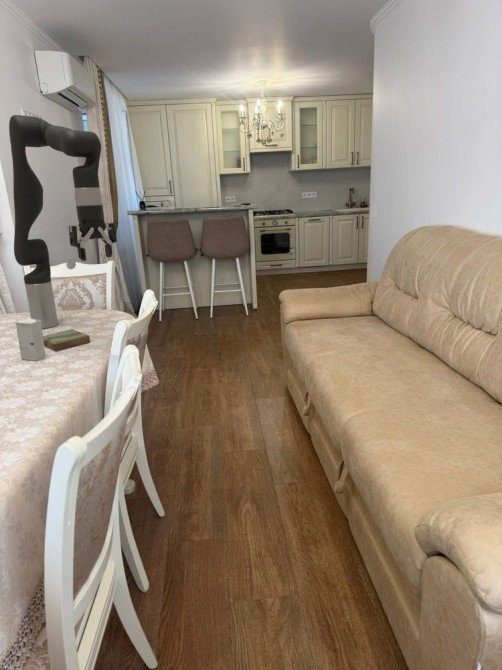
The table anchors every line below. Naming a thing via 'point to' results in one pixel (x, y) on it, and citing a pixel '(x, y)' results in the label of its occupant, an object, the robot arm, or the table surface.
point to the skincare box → (30, 339)
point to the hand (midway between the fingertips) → (96, 258)
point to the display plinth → (65, 340)
